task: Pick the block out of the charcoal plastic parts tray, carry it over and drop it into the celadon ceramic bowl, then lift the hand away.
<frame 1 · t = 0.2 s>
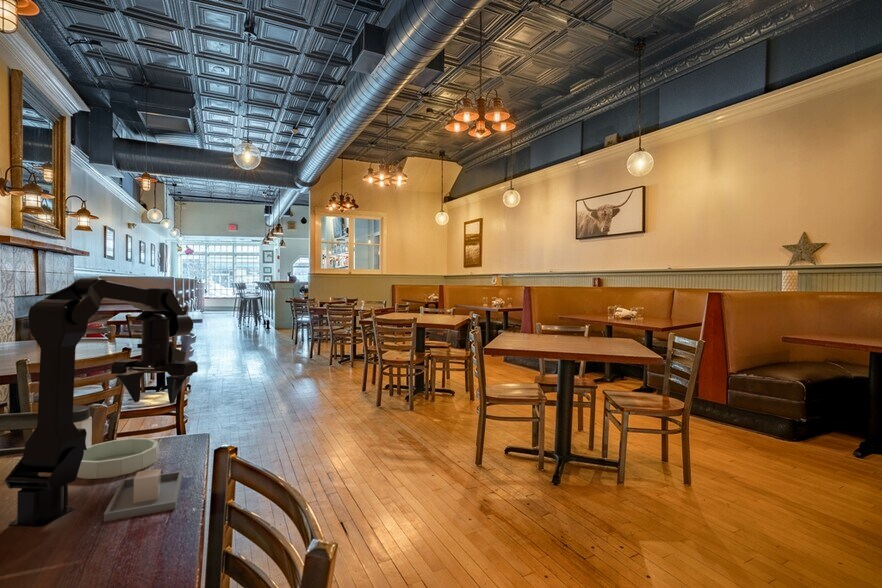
hand: (154, 402, 107), 14 cm above the table, fingers open, 9 cm apart
lidded white canister: (68, 458, 108), on the table
block: (147, 496, 87), resting on parts tray
bowl: (116, 466, 104), on the table
parts tray: (147, 498, 87), on the table
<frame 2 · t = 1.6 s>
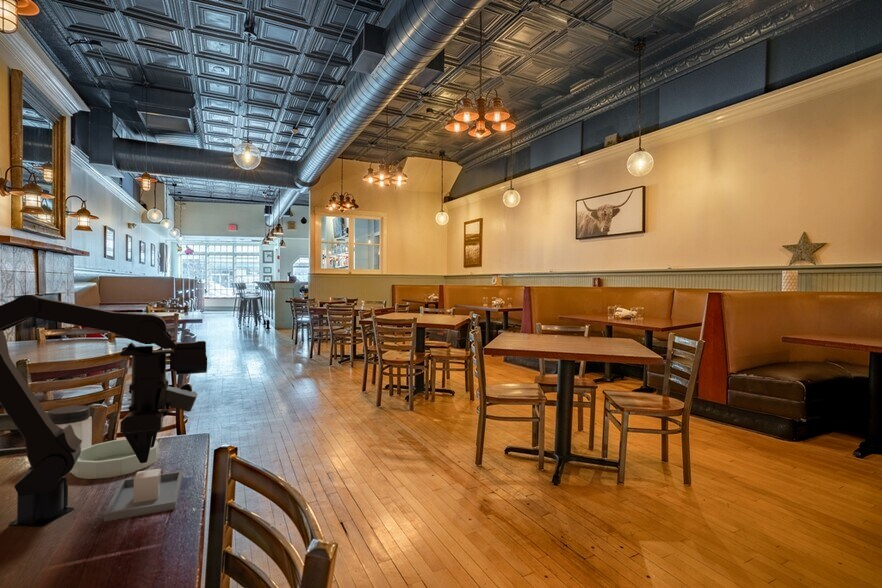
hand: (147, 454, 87), 9 cm above the table, fingers open, 9 cm apart
nothing on the table moved.
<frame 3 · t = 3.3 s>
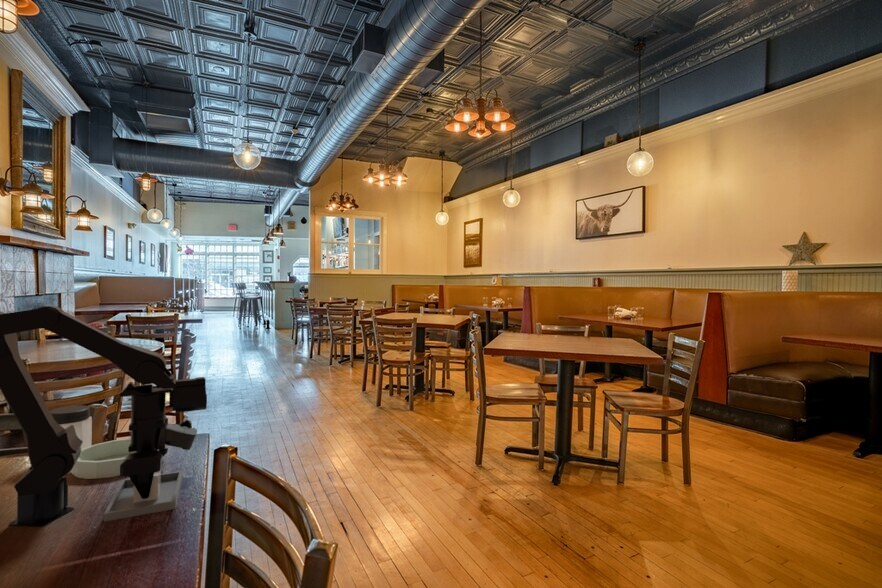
hand: (147, 493, 87), 1 cm above the table, fingers closed on block, 4 cm apart
block: (147, 496, 87), resting on parts tray, touching gripper
everything else where it was.
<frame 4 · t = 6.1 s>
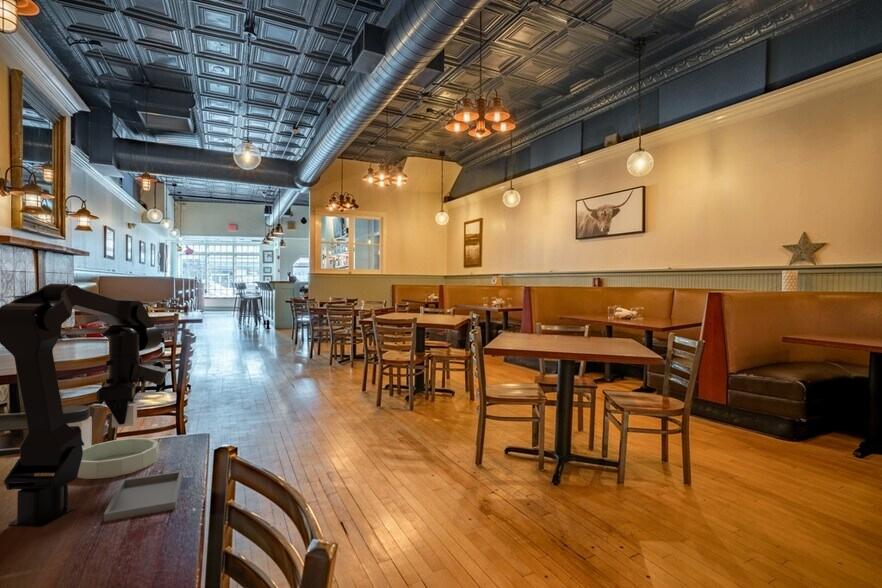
hand: (123, 421, 101), 11 cm above the table, fingers closed on block, 4 cm apart
block: (124, 424, 101), point 11 cm above the table, touching gripper
everything else where it was.
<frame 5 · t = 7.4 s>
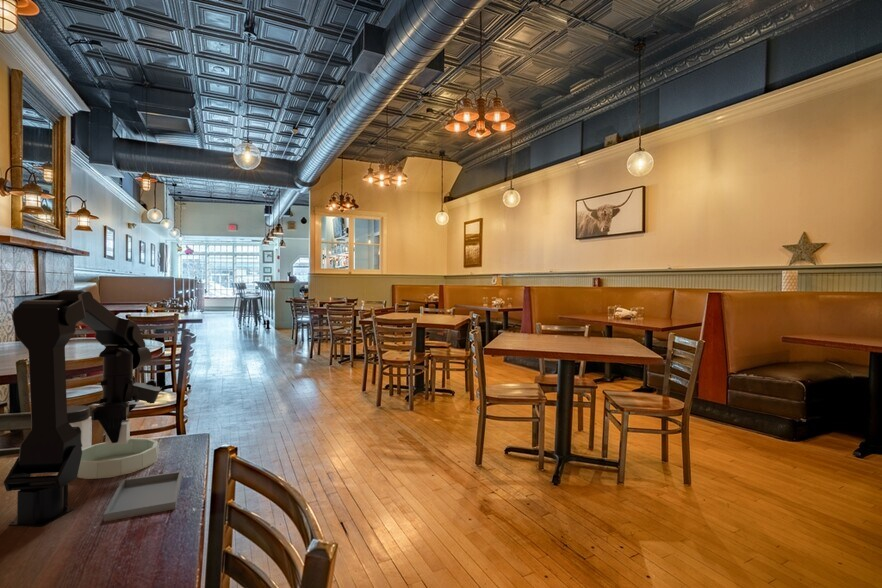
hand: (117, 439, 103), 6 cm above the table, fingers closed on block, 4 cm apart
block: (117, 442, 104), point 6 cm above the table, touching gripper
everything else where it was.
when the fingers open (3 cm above the table, at t = 8.7 s): block drops 2 cm, resting on bowl.
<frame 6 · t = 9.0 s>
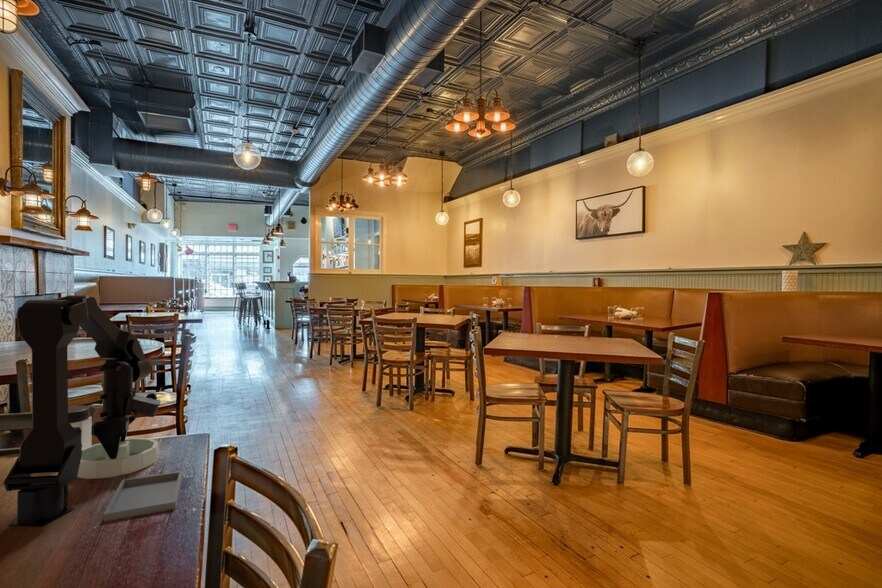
hand: (117, 453, 104), 3 cm above the table, fingers open, 7 cm apart
block: (117, 463, 104), resting on bowl
everything else where it was.
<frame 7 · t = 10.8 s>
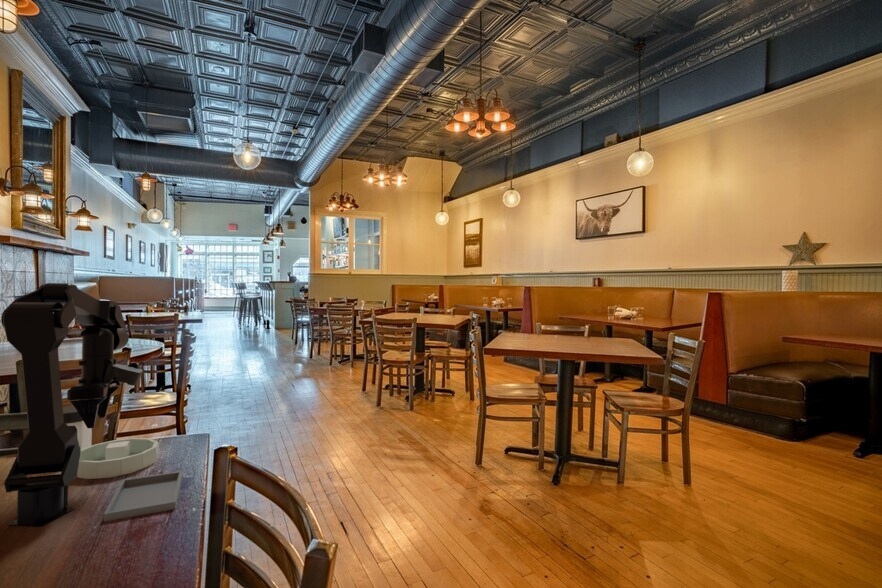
hand: (96, 422, 100), 11 cm above the table, fingers open, 9 cm apart
nothing on the table moved.
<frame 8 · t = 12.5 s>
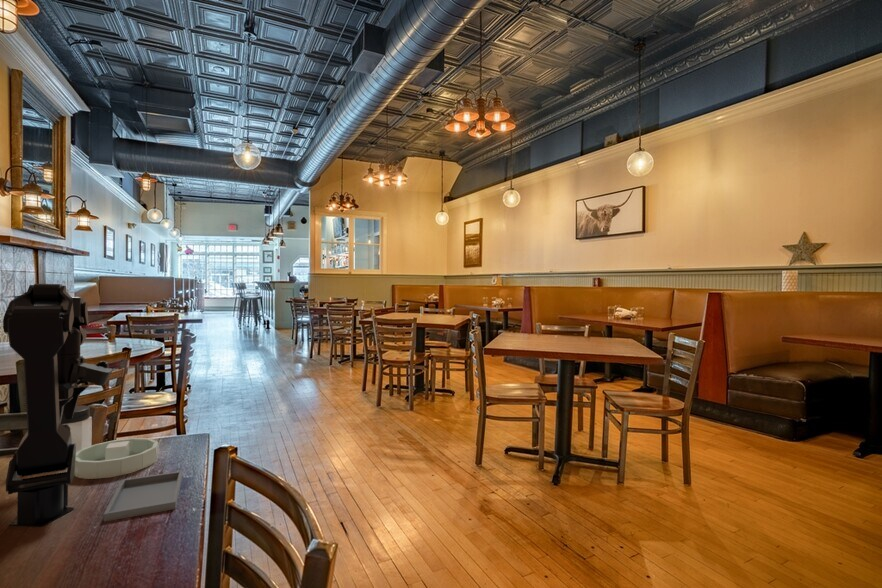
hand: (62, 424, 96), 12 cm above the table, fingers open, 9 cm apart
nothing on the table moved.
at the end: block inside the target area on the bowl (0.1 cm from its centre), point 0.5 cm above the bowl's base; the gripper is holding nothing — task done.
